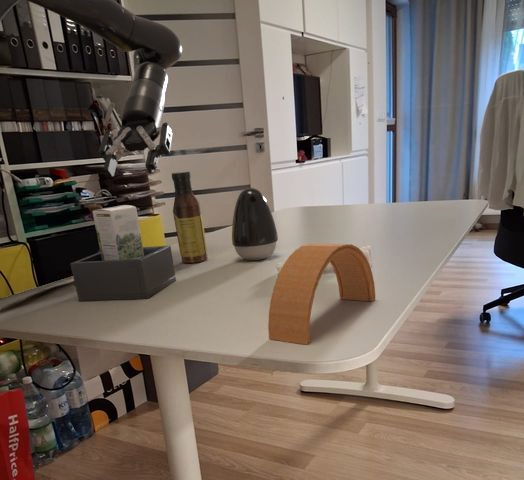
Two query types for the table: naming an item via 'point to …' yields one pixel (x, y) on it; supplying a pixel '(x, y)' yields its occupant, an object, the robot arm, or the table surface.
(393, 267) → the table surface
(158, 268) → the open box
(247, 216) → the black white egg shape
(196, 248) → the sauce bottle
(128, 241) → the syrup box
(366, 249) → the figurine
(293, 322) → the arch
